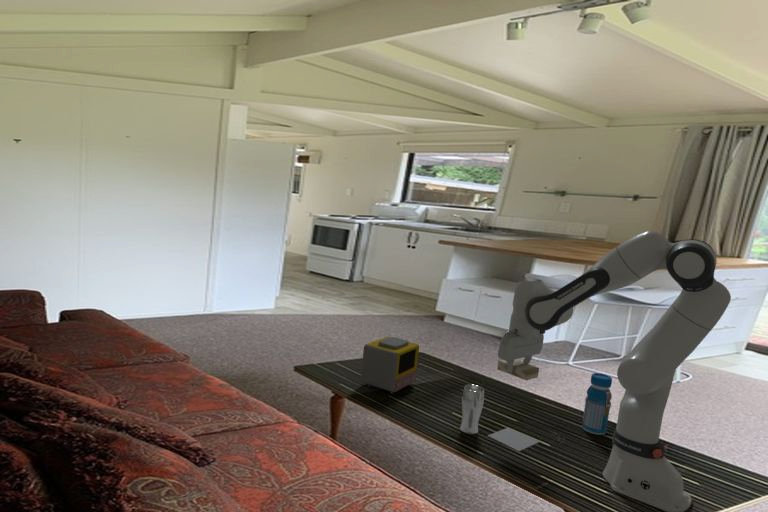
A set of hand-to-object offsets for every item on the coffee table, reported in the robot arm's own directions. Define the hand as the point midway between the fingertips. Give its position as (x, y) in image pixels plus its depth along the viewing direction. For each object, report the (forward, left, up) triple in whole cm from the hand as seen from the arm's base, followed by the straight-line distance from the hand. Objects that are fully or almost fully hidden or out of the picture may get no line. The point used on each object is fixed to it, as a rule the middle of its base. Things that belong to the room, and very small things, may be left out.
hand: (517, 369), depth 165 cm
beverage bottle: (-12, -35, -24) cm, 44 cm away
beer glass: (+11, +7, -24) cm, 27 cm away
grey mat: (-1, -1, -24) cm, 24 cm away
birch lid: (0, 0, -1) cm, 1 cm away
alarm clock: (+55, +3, -24) cm, 60 cm away
